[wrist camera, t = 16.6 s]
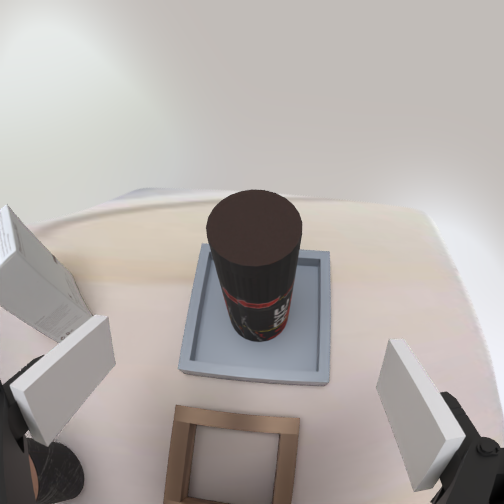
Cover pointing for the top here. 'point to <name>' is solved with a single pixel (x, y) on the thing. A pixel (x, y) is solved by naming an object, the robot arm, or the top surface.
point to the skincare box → (37, 282)
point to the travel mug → (54, 472)
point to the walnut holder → (189, 417)
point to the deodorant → (256, 259)
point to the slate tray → (267, 352)
